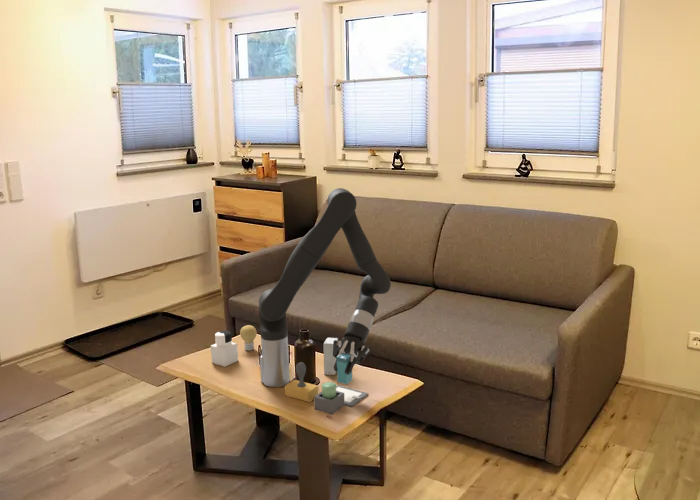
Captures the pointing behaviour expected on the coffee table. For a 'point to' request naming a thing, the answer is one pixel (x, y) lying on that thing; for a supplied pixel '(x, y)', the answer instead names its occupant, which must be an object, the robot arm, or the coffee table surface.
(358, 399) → the clipboard
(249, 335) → the light bulb
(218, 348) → the medicine bottle
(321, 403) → the button housing
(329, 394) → the button
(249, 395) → the coffee table surface
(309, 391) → the rubber stamp
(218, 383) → the coffee table surface
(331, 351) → the skincare box
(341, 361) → the teal lidded box
